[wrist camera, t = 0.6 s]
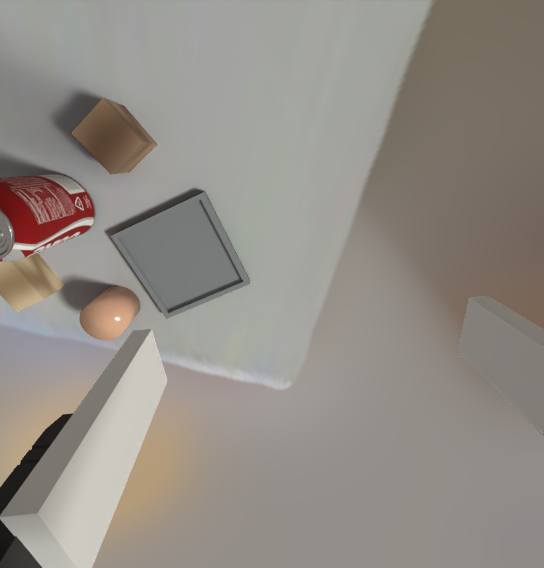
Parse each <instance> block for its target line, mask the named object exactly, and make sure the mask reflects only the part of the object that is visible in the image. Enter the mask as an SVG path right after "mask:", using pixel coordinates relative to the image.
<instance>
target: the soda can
mask: <svg viewBox="0 0 544 568" xmlns="http://www.w3.org/2000/svg"><path fill="white" fill-rule="evenodd" d="M95 214H96V212H95V206H94V202H93V200H92V198H91V196H90V194H89V193H88V192H87V190H86V189H85V188H84V187H83V186H82V185H81V184H79V183H78V182H77V181H75V180H73V179H71V178H69V177H67V176H63V175H57V174H52V175H38V176H24V177H10V178H0V262H14V261H18V260H21V259H24V258H26V257H28V256H31V255H33V254H36V253H38V252H40V251H43V250H45V249H47V248H50V247H52V246H55V245H57V244H59V243H62V242H64V241H67V240H69V239H71V238H74V237H76V236H78V235H81V234H83V233H85V232H87V231H88V230H89V229H90V228H91V227H92V225H93V223H94V220H95Z"/></svg>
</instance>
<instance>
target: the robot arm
mask: <svg viewBox="0 0 544 568" xmlns="http://www.w3.org/2000/svg"><path fill="white" fill-rule="evenodd" d="M458 353H459V354H460V355H461V356H462V357H463V358H464V359H465V360H466V361H467V362H468V363H469V364H470V365H471V366H472V367H473V368H474V369H475V370H476V371H477V372H478V373H479V374H480V375H481V376H483V377H484V379H485V380H487V381H488V382H489V383H490V384H491V385H492V386H493V387H494V388H495V389H496V390H497V391H498V392H499V393H500V394H501V395H502V396H503V397H504V398H505V399H506V400H507V401H508V402H509V403H510V404H511V405H512V406H513V407H514V408H515V409H516V410H517V411H518V412H519V413H520V414H521V415H522V416H523V417H524V418H525V419H526V420H527V421H528V422H530V424H532V426H534V427H535V428H536V429H537V430H538V431H539V432H540V433H541V434H542V435H543V436H544V330H543V329H541V328H540V327H538V326H537V325H535V324H533V323H532V322H530V321H528V320H527V319H525V318H523V317H521V316H520V315H518V314H517V313H515V312H513V311H512V310H510V309H508V308H507V307H505V306H504V305H502V304H500V303H498V302H497V301H495V300H493V299H492V298H490V297H488V296H482V297H472V298H469V301H468V306H467V310H466V315H465V320H464V324H463V329H462V333H461V338H460V342H459V347H458ZM166 383H167V378H166V374H165V371H164V368H163V365H162V361H161V358H160V355H159V352H158V348H157V345H156V342H155V339H154V335H153V332H152V329H147V330H137V331H133V332H132V333H131V334H130V336H129V337H128V338H127V340H126V341H125V343H124V344H123V345H122V347H121V348H120V350H119V351H118V352H117V354H116V355H115V357H114V358H113V359H112V361H111V362H110V364H109V365H108V366H107V368H106V369H105V371H104V372H103V374H102V375H101V376H100V378H99V379H98V381H97V382H96V383H95V384H94V386H93V387H92V389H91V390H90V391H89V393H88V394H87V396H86V397H85V398H84V400H83V401H82V402H81V404H80V405H79V407H78V408H77V409H76V411H75V412H74V413H73V414H63V415H62V416H61V417H60V418H59V419H57V420H56V421H55V422H54V423H53V424H51V425H50V426H49V427H48V428H47V429H46V430H45V431H44V432H43V433H42V434H41V436H40V437H39V438H38V440H37V441H36V442H35V444H34V445H33V446H32V450H29V451H28V452H27V454H26V455H25V456H24V458H23V459H22V460H21V463H20V465H17V467H16V468H15V469H14V471H13V472H12V473H11V474H10V475H9V477H8V478H7V479H6V481H5V482H4V483H3V485H2V486H1V487H0V568H92V566H93V563H94V561H95V559H96V556H97V554H98V551H99V549H100V546H101V544H102V541H103V539H104V536H105V534H106V532H107V529H108V526H109V524H110V522H111V519H112V517H113V514H114V512H115V509H116V507H117V504H118V502H119V499H120V497H121V495H122V492H123V490H124V487H125V485H126V482H127V480H128V477H129V475H130V472H131V470H132V467H133V465H134V462H135V460H136V457H137V455H138V453H139V450H140V448H141V445H142V442H143V440H144V438H145V435H146V432H147V430H148V428H149V425H150V423H151V420H152V418H153V415H154V413H155V410H156V408H157V406H158V403H159V400H160V398H161V396H162V393H163V391H164V388H165V386H166Z"/></svg>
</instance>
